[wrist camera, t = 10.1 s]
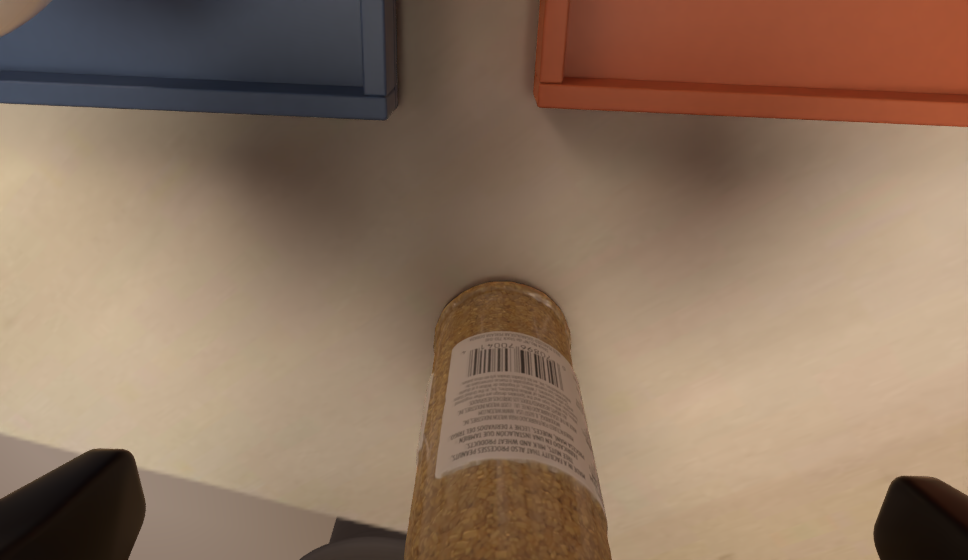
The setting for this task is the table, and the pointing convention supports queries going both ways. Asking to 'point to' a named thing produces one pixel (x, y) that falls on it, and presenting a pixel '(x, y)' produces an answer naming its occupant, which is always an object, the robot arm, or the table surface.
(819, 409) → the table surface
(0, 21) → the lightbulb
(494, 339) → the sprinkles bottle
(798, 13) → the terracotta tray
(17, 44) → the blue tray
